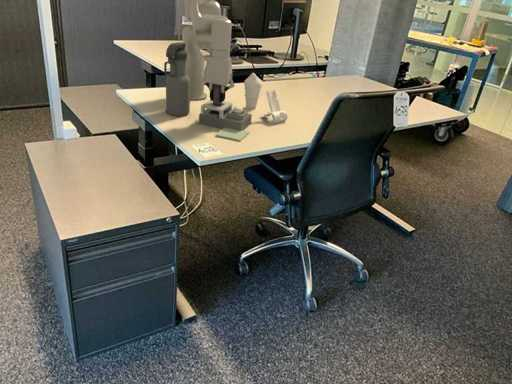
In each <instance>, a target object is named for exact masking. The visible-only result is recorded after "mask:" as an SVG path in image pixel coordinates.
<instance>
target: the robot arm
mask: <svg viewBox="0 0 512 384" xmlns="http://www.w3.org/2000/svg"><path fill="white" fill-rule="evenodd" d="M183 1H184V2H183V3H184V6H183V7H184V17H185V19H186V21H188V22H191V25H188V26H185V27H184V28H183V30H182V33H181V34H182V35H181V37H182V38H181V39H182V43H186V47H185V51H186V52H187V70H186V75H187V76H188V77H189V78H190V101H200V100H206V99H207V97H208V95H207V93H206V92H205V91H204V90H205V86H206V87H207V88H208V91H209V99H210V100H209V101H213V88H214V84H216V85H221V93H220V103H222V102H223V101H226V92H228V90H231V89H233V88H235V84H234V81H233V64H232V62H233V61H232V58H231V57H230V56H231V42H232V30H233V29H232V28H233V25H232V24H233V23H232V21H231V20H230V19H228V17H227V16H225V15H222V10H221V9H222V8H221V5H220V3H219V2H218V1H216V0H183ZM203 49H205V50H206V52H207V53H209V54H208V55H207V57H206V60H205V56H204V54H203V53H202V52H201V51H200V50H203Z"/></svg>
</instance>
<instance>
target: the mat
mask: <svg viewBox="0 0 512 384" xmlns="http://www.w3.org/2000/svg"><path fill="white" fill-rule="evenodd" d="M249 134H250V131H247V130H242V131H239V130H234V129H229V128H223V129H222V128H221V130H219V131H218V132H216V134H215V137H219V138H223V139H228V140H233V141H235V142H242V140H244V139H245V138H246V137H247V136H248V135H249Z"/></svg>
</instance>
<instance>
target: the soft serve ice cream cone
mask: <svg viewBox="0 0 512 384" xmlns="http://www.w3.org/2000/svg"><path fill="white" fill-rule="evenodd" d="M243 84H244V98H245V106H246V107H245V108H246V109H249V110H255V109H256V107H257V104H258V101H259V98H260V93H261V89H262V87H263V82H262V80H261V79H260V78H259V76H257V75H256V73H254V72H252V73H251V74H250V75H248V77H247V78H246V79H244V82H243Z"/></svg>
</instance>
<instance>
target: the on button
mask: <svg viewBox="0 0 512 384" xmlns="http://www.w3.org/2000/svg"><path fill="white" fill-rule="evenodd" d="M233 109H234V110H233V113H235V114H242V111H244V109H243V107H242V106H234V107H233Z"/></svg>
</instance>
